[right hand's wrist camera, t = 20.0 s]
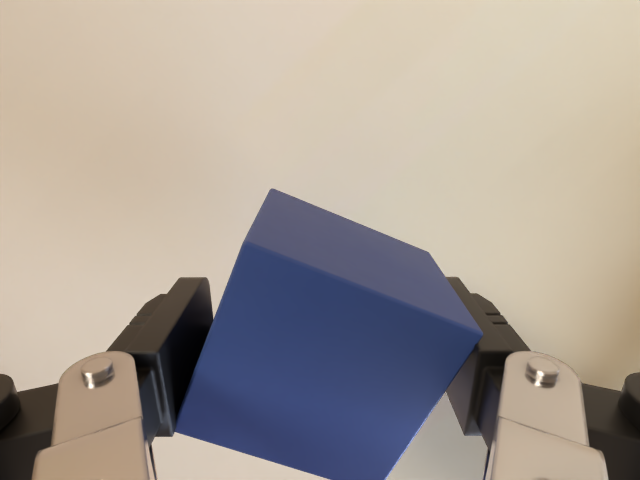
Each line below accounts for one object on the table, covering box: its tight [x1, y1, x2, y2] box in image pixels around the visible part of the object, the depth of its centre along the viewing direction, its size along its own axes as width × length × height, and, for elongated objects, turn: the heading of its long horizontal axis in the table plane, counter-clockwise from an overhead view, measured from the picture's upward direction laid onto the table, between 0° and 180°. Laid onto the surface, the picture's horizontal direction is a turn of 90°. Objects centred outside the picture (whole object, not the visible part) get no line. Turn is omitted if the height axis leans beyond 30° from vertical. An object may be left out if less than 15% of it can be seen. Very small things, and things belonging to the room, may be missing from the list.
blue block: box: [175, 189, 483, 480], centre depth 10 cm, size 5×5×4 cm
